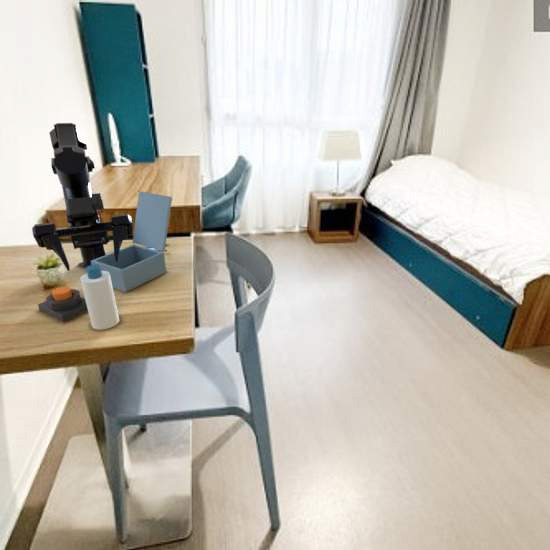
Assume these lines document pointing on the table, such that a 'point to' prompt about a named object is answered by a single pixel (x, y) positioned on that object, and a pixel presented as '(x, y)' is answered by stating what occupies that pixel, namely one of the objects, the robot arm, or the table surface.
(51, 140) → the robot arm
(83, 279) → the detergent bottle
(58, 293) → the button
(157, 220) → the blue-grey box lid
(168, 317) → the table surface
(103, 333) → the table surface
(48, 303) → the control block
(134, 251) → the blue open box
